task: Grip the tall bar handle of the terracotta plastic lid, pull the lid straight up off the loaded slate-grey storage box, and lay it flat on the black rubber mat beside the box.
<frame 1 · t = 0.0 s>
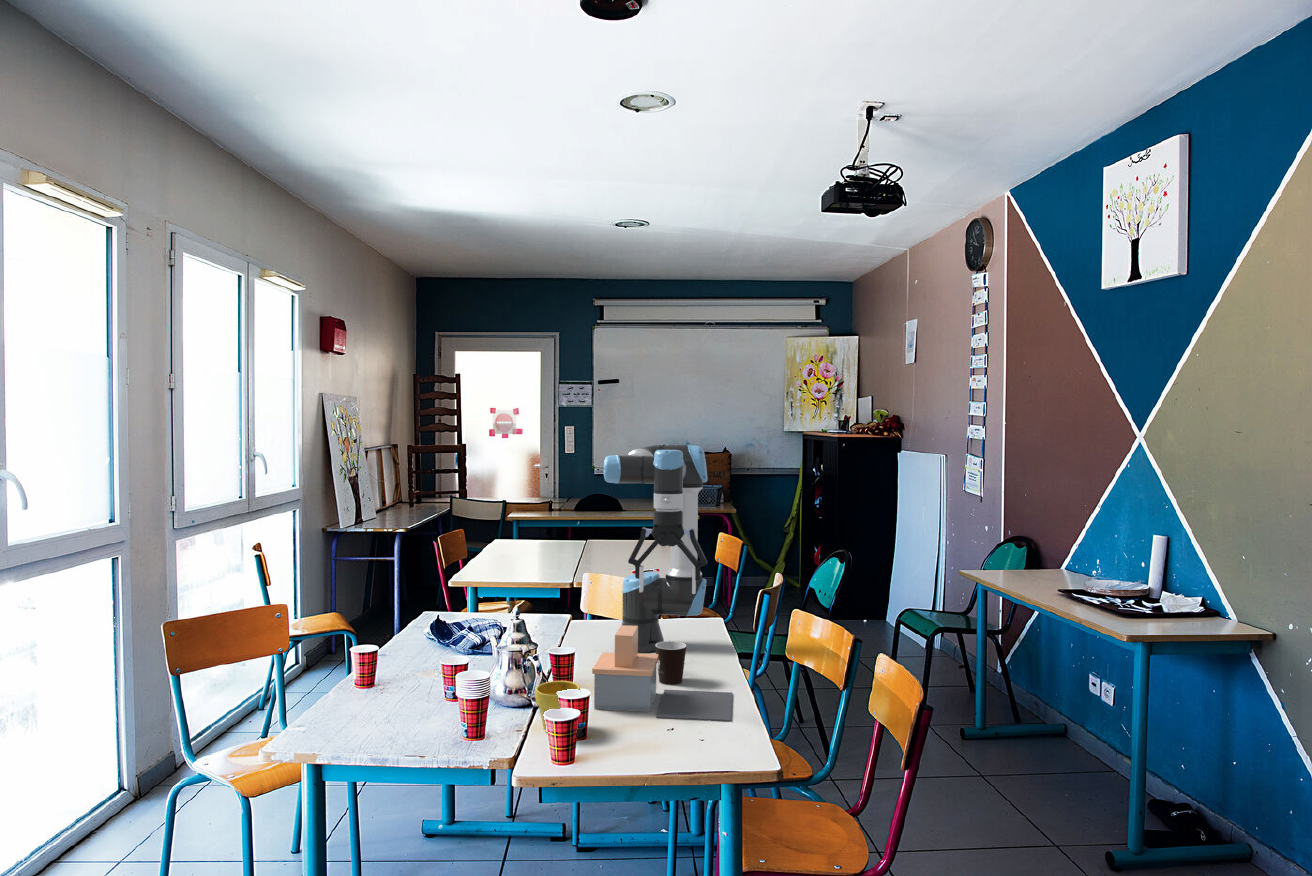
hand: (667, 592, 207), 28 cm above the table, tool pointing down, fingers open, 13 cm apart
mat: (695, 705, 204), on the table
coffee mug: (671, 680, 224), on the table
storage box: (626, 700, 207), on the table
plant pot: (557, 729, 187), on the table
lid: (626, 671, 206), point 7 cm above the table, touching storage box
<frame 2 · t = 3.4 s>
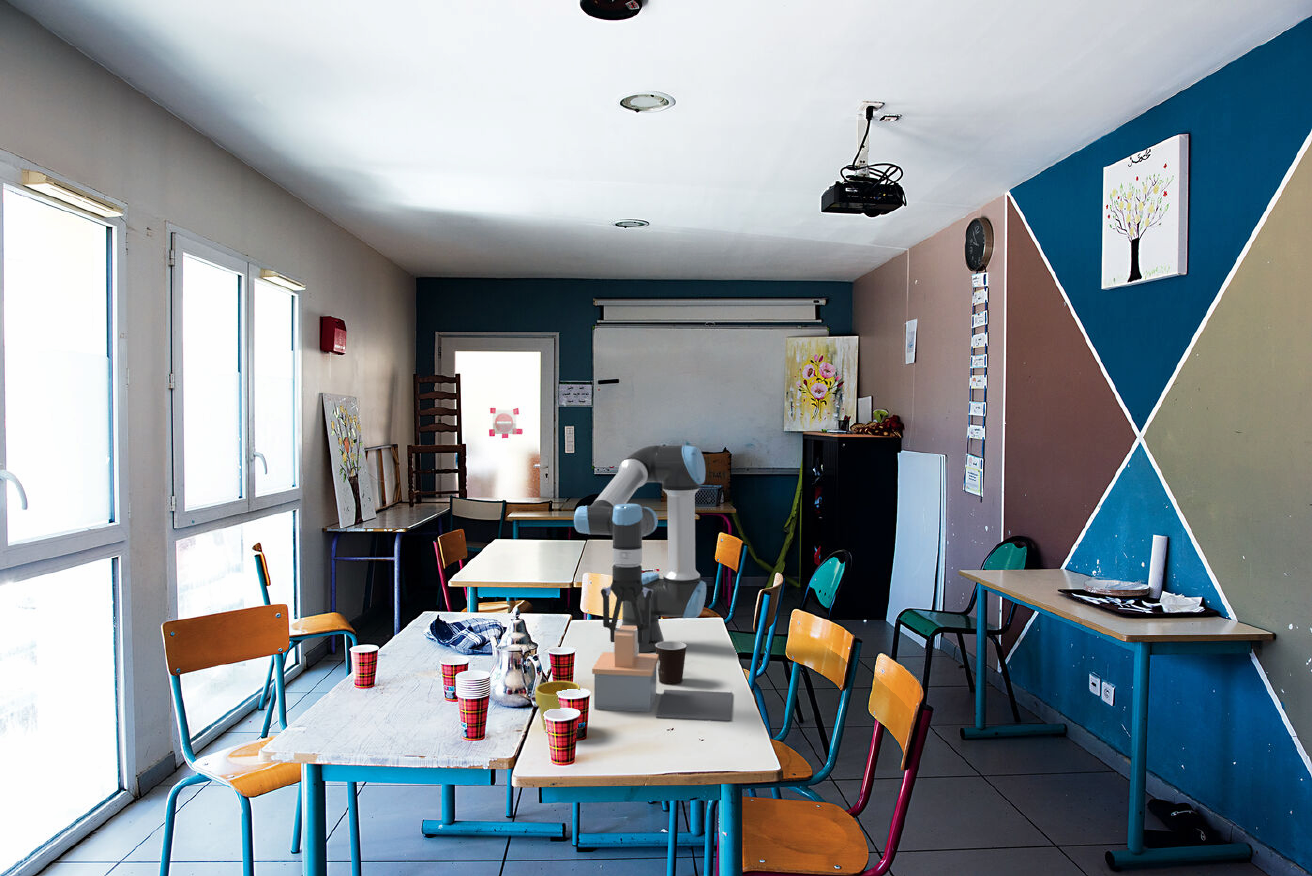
hand: (626, 654, 206), 12 cm above the table, tool pointing down, fingers closed on lid, 4 cm apart
lid: (626, 671, 206), point 7 cm above the table, touching gripper, storage box
everything else where it was.
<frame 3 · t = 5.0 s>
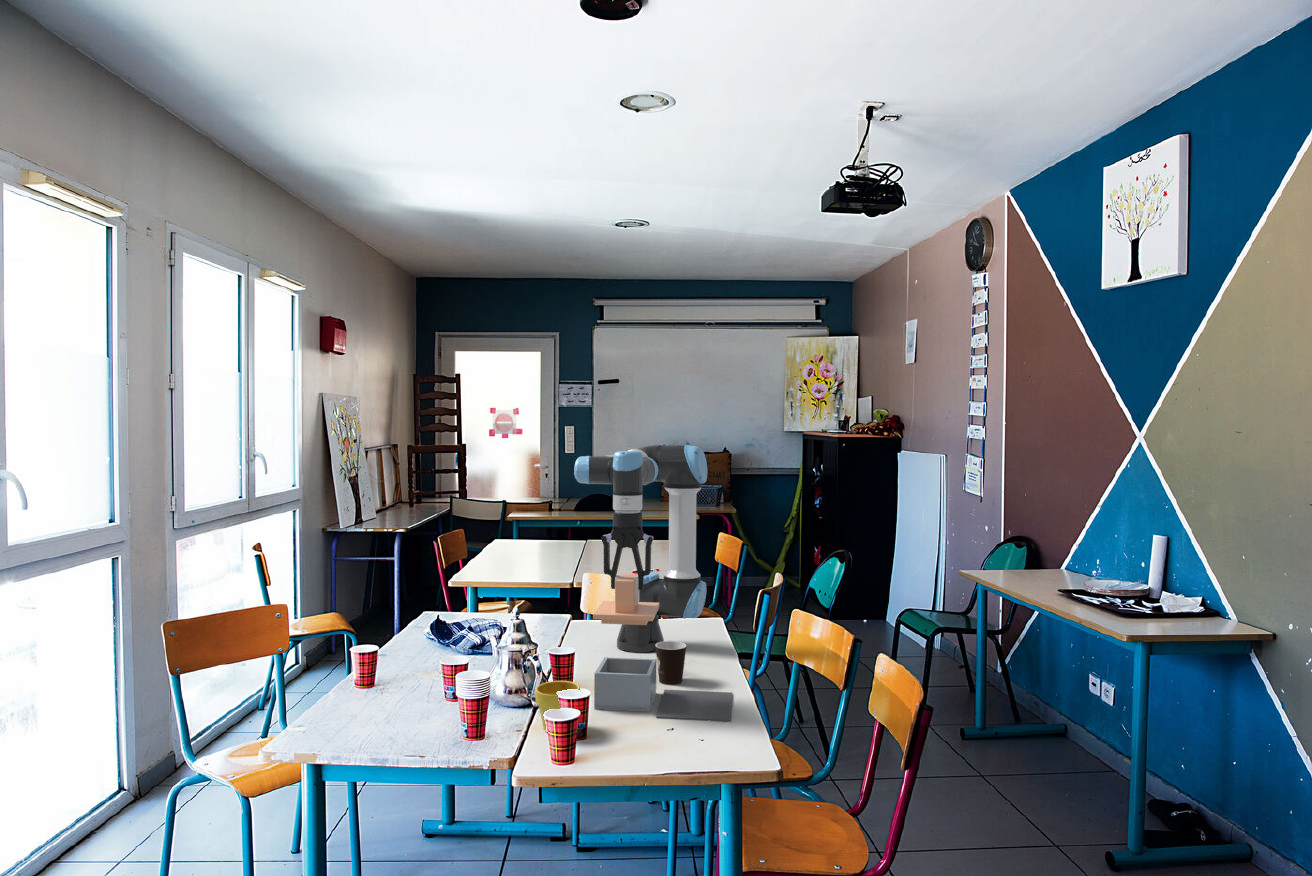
hand: (627, 601, 206), 26 cm above the table, tool pointing down, fingers closed on lid, 4 cm apart
lid: (627, 618, 206), point 21 cm above the table, touching gripper
everything else where it was.
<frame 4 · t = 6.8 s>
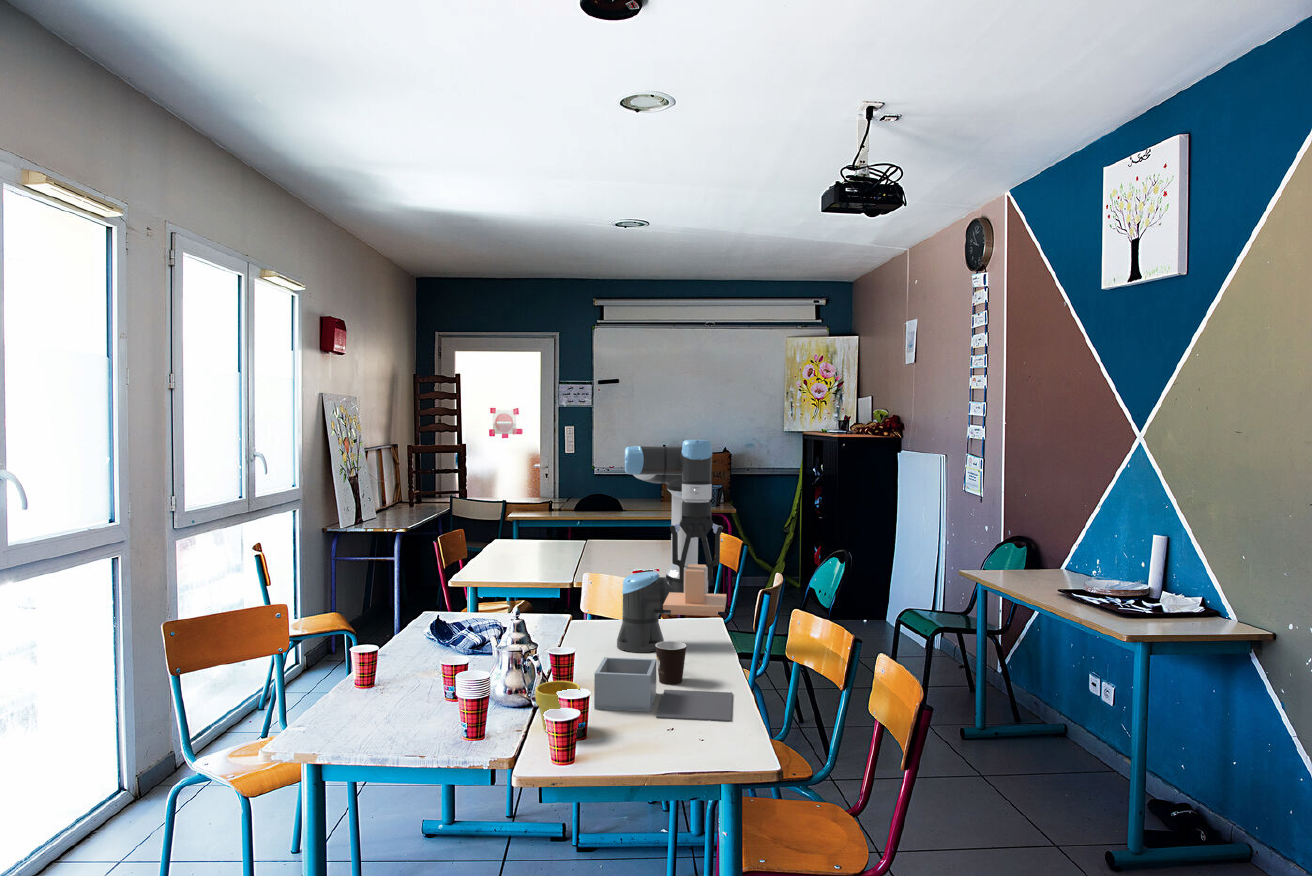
hand: (695, 592, 203), 29 cm above the table, tool pointing down, fingers closed on lid, 4 cm apart
lid: (695, 610, 203), point 24 cm above the table, touching gripper
everything else where it was.
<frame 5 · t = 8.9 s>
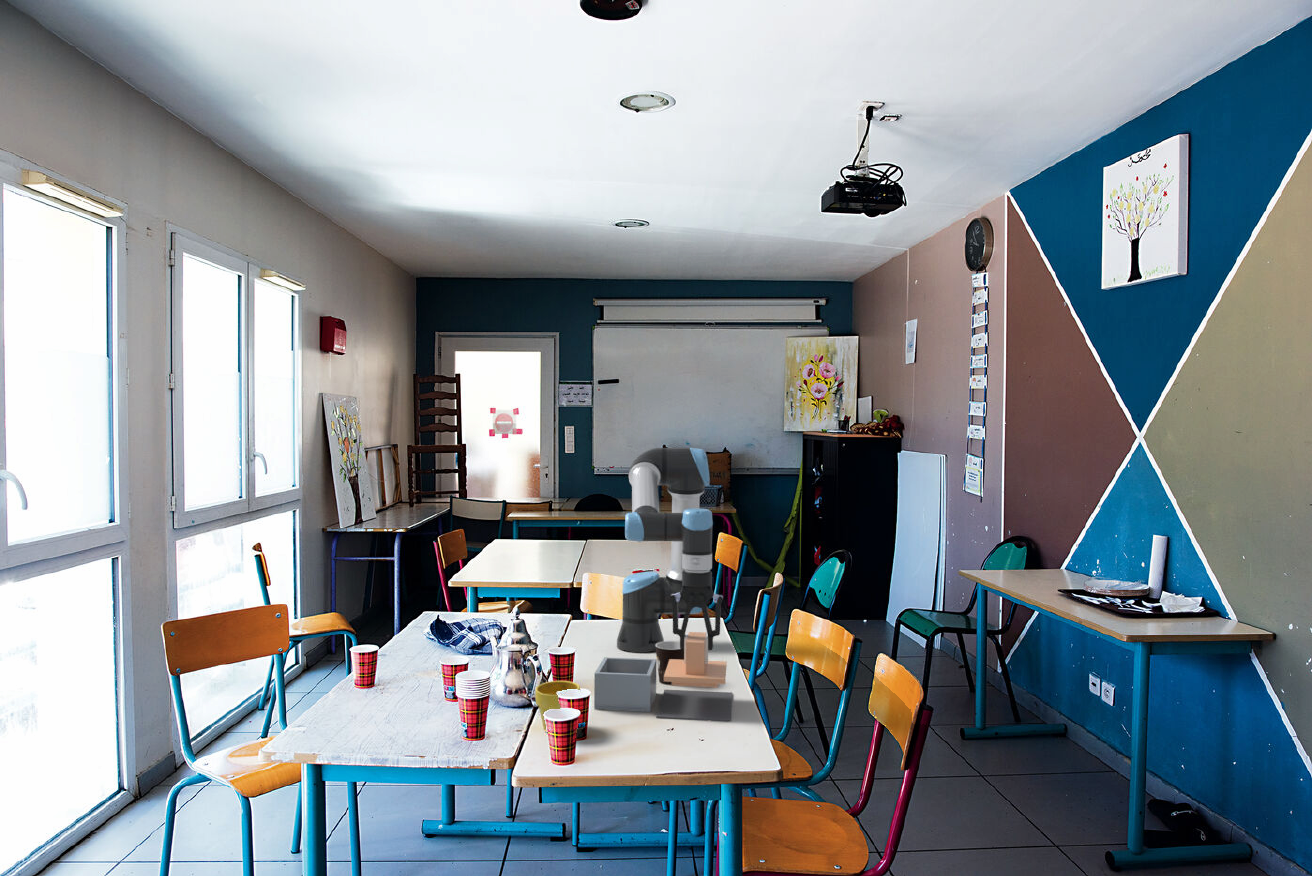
hand: (696, 662, 203), 11 cm above the table, tool pointing down, fingers closed on lid, 4 cm apart
lid: (696, 679, 203), point 7 cm above the table, touching gripper
everything else where it was.
when the fingers open (6 cm above the table, at t = 10.5 s): lid drops 1 cm, resting on mat.
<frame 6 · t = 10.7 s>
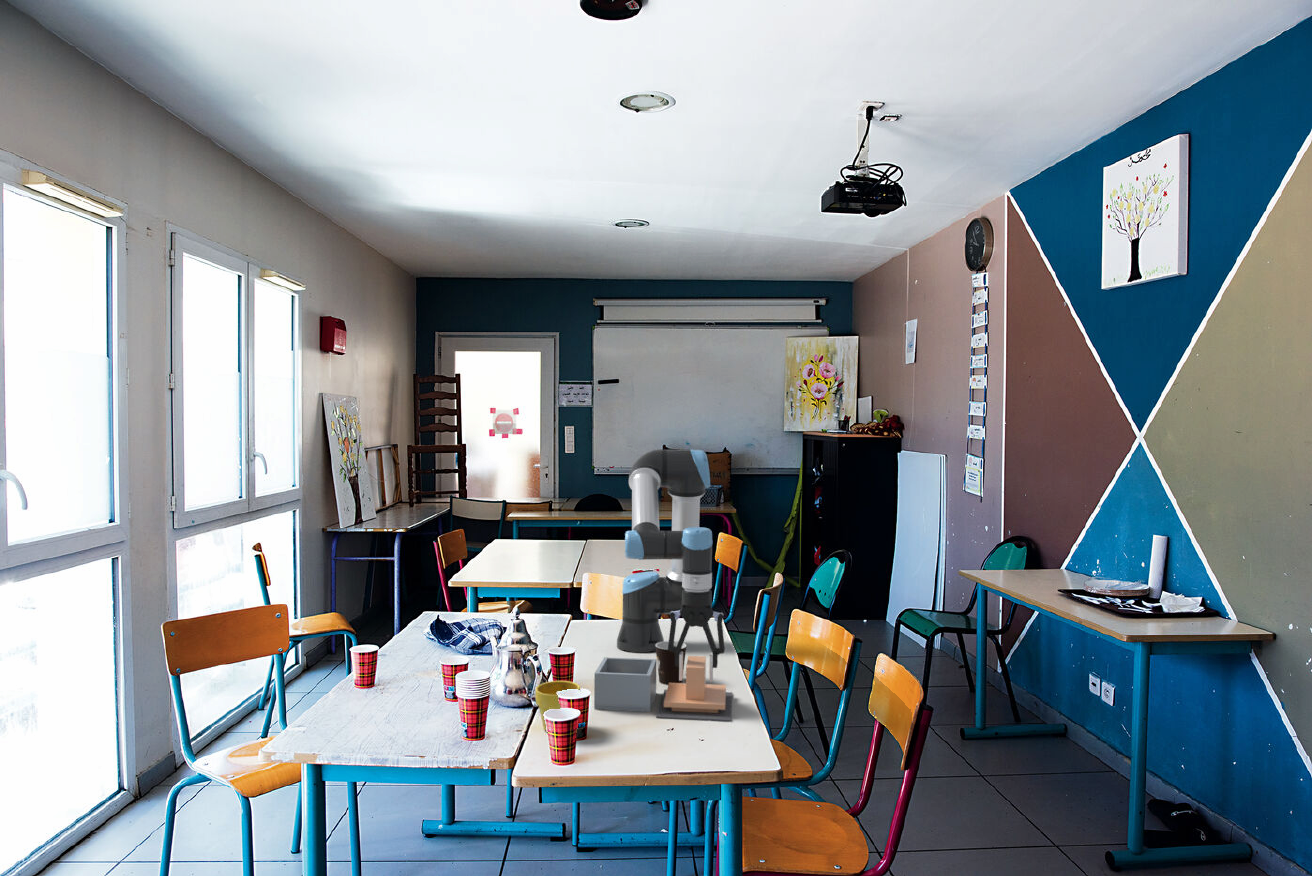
hand: (696, 679, 203), 7 cm above the table, tool pointing down, fingers open, 7 cm apart
lid: (695, 703, 204), resting on mat
everything else where it was.
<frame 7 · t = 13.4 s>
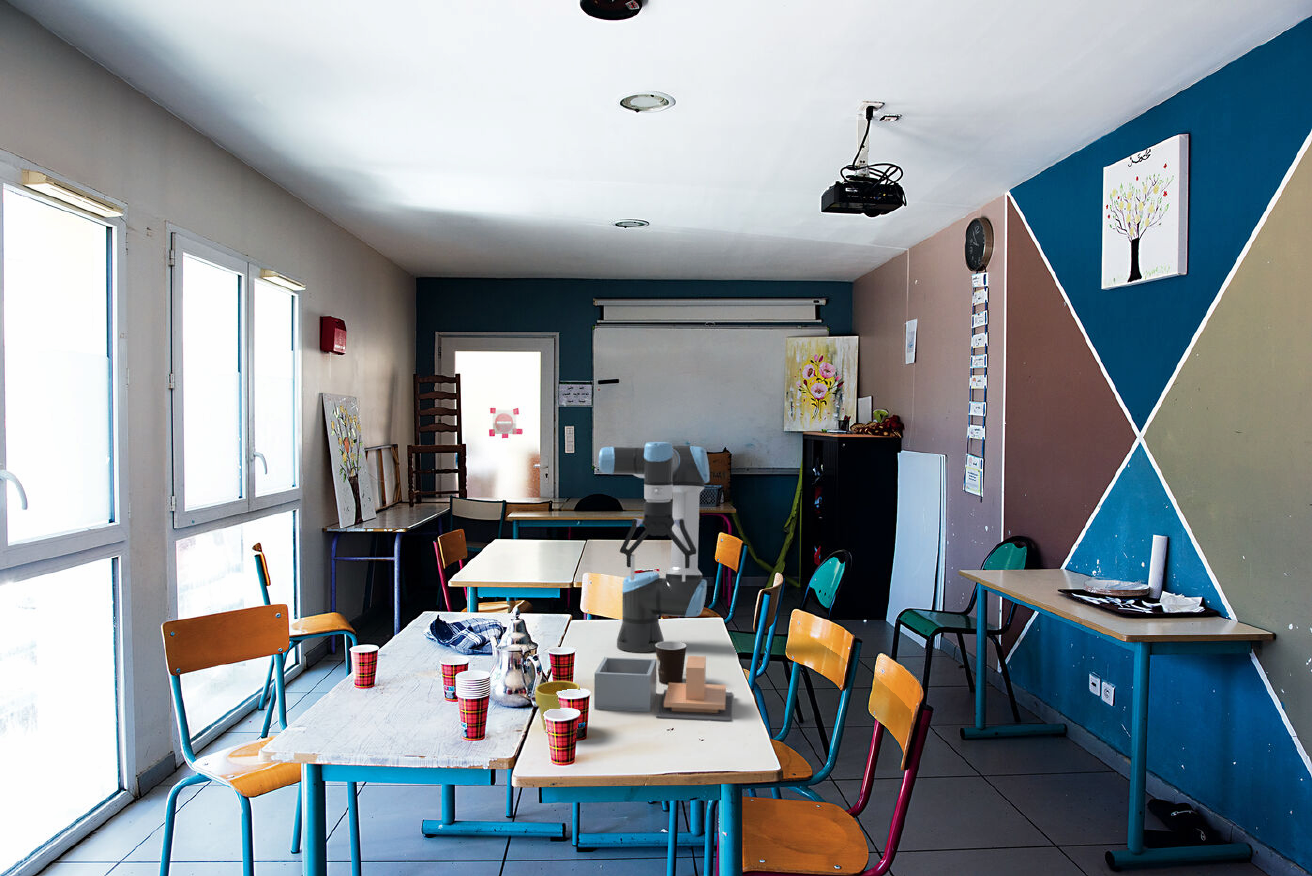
hand: (658, 580, 213), 30 cm above the table, tool pointing down, fingers open, 13 cm apart
nothing on the table moved.
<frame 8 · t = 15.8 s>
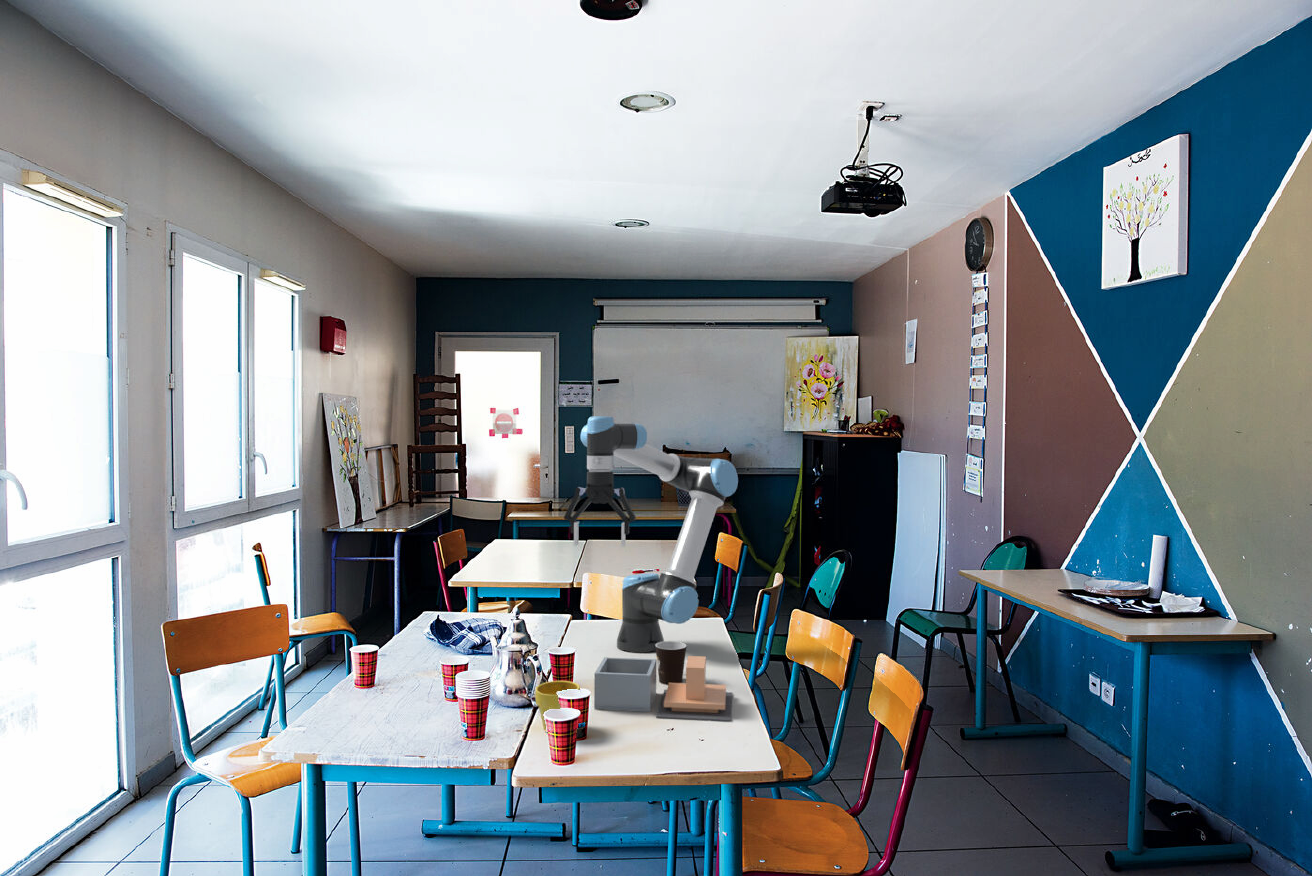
hand: (599, 545, 228), 37 cm above the table, tool pointing down, fingers open, 13 cm apart
nothing on the table moved.
at the end: lid inside the target area on the mat (0.0 cm from its centre), point 0.4 cm above the mat's base; lid tilted 0°; the gripper is holding nothing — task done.
